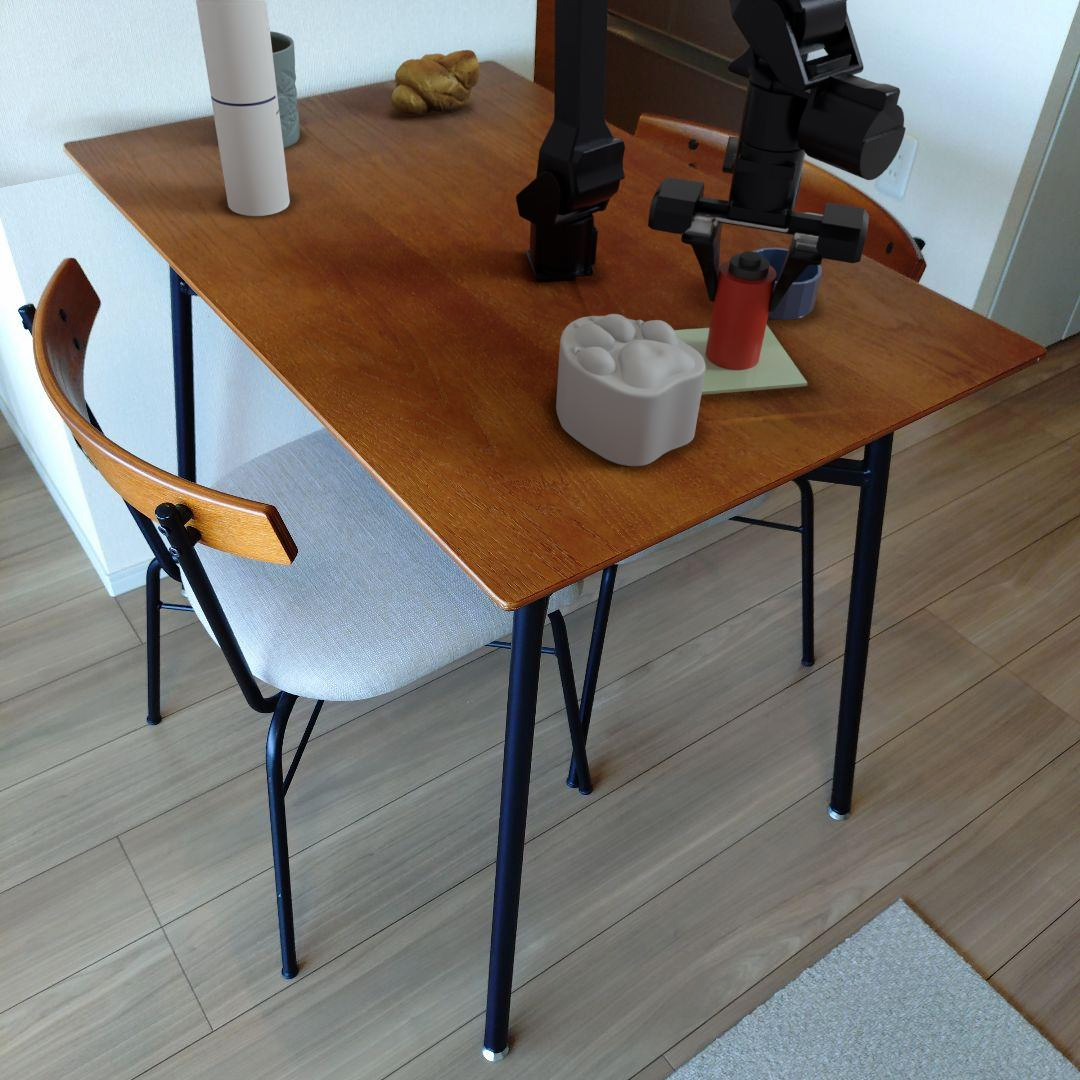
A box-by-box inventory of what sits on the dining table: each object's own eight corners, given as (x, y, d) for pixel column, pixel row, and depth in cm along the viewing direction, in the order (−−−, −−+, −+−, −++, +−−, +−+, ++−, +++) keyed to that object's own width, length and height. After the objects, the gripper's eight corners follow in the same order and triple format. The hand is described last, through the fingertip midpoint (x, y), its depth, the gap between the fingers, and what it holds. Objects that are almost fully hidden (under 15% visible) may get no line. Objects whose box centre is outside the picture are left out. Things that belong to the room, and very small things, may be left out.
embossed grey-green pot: (296, 154, 138) (285, 57, 130) (217, 150, 138) (201, 52, 130) (310, 125, 145) (300, 31, 138) (235, 121, 145) (221, 27, 137)
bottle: (715, 372, 102) (733, 271, 95) (698, 343, 106) (714, 244, 99) (766, 368, 103) (788, 267, 96) (748, 339, 107) (767, 241, 100)
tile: (695, 399, 100) (696, 392, 99) (661, 337, 108) (662, 330, 107) (806, 389, 102) (807, 382, 101) (764, 330, 110) (766, 323, 109)
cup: (752, 326, 110) (760, 286, 107) (726, 288, 116) (733, 249, 113) (824, 320, 112) (834, 281, 109) (795, 283, 117) (804, 245, 115)
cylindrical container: (215, 208, 125) (176, -27, 109) (250, 185, 130) (218, -43, 114) (268, 220, 123) (236, -17, 107) (301, 197, 128) (276, -33, 112)
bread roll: (407, 127, 146) (405, 66, 141) (373, 104, 152) (369, 45, 147) (486, 110, 152) (487, 51, 147) (450, 89, 158) (449, 31, 153)
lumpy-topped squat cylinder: (625, 475, 91) (636, 389, 85) (527, 405, 98) (531, 321, 92) (710, 432, 96) (725, 348, 90) (611, 368, 103) (619, 286, 97)
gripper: (890, 122, 94) (848, 283, 105) (681, 92, 98) (661, 251, 108) (884, 170, 86) (839, 339, 97) (657, 135, 90) (637, 302, 100)
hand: (741, 304), depth 101 cm, fingers closed on bottle, 5 cm apart
